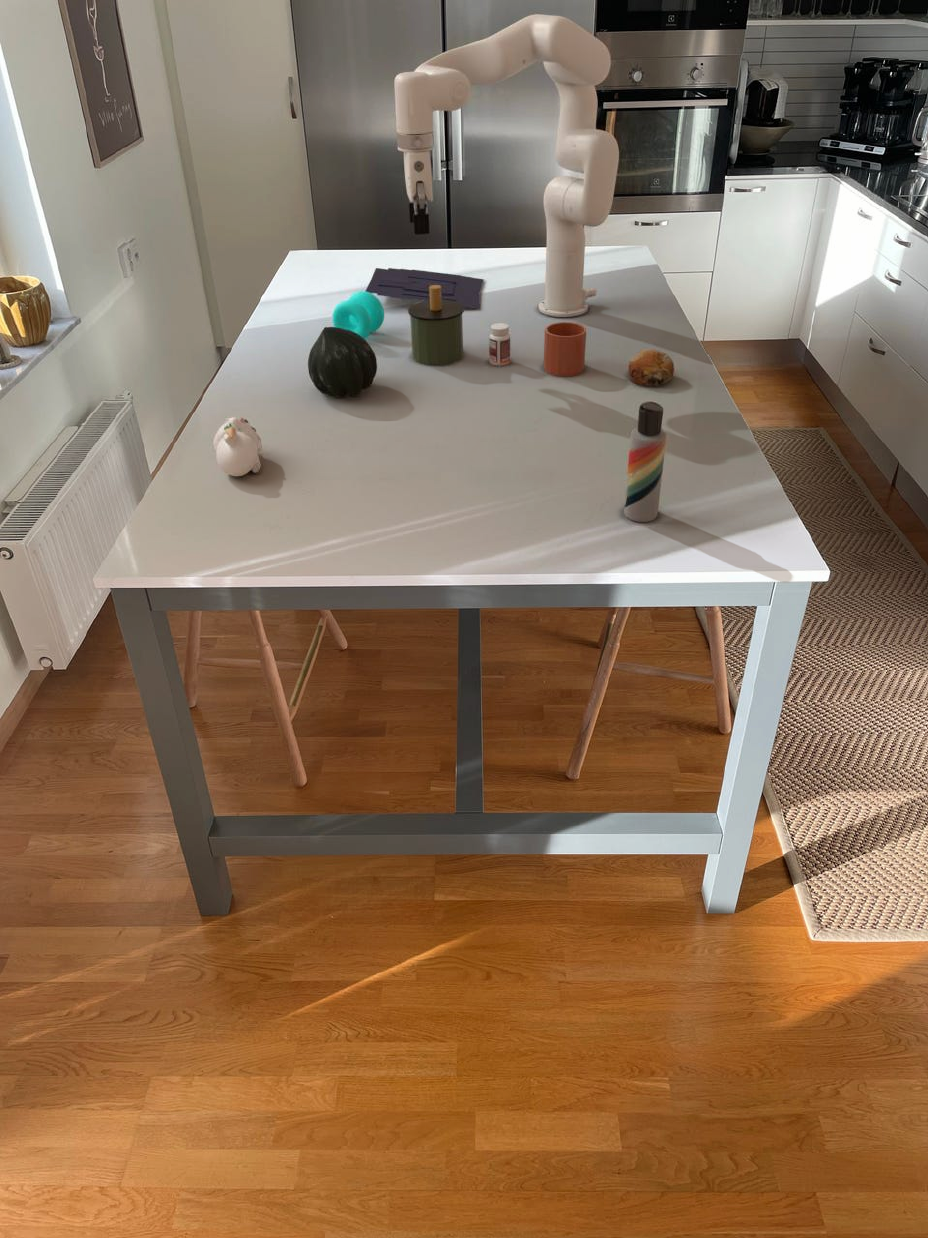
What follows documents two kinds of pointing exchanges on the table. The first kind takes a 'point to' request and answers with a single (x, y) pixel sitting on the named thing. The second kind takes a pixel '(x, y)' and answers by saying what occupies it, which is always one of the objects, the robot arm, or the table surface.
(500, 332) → the pill bottle
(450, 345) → the pot
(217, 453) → the white bird figurine
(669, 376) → the bread roll
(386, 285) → the papers
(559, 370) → the cup
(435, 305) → the lid
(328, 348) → the squash
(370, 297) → the donuts
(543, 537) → the table surface
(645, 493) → the lotion bottle
